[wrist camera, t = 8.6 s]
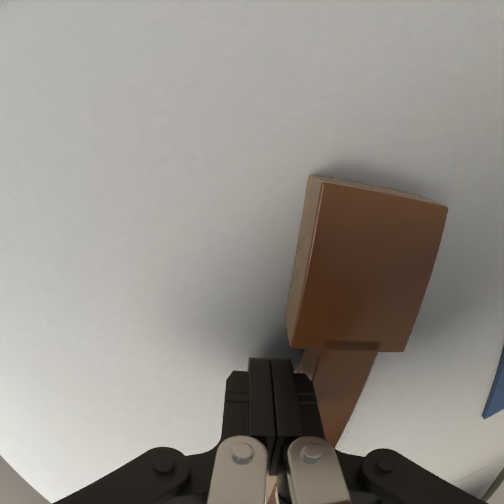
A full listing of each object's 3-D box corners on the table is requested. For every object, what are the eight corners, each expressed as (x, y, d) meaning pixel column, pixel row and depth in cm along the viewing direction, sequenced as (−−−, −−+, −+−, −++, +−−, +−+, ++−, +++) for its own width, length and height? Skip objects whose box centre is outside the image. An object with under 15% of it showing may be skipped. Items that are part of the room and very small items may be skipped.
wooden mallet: (314, 478, 15) (318, 504, 13) (248, 478, 15) (247, 505, 13) (418, 195, 10) (449, 207, 8) (308, 174, 10) (321, 181, 8)
